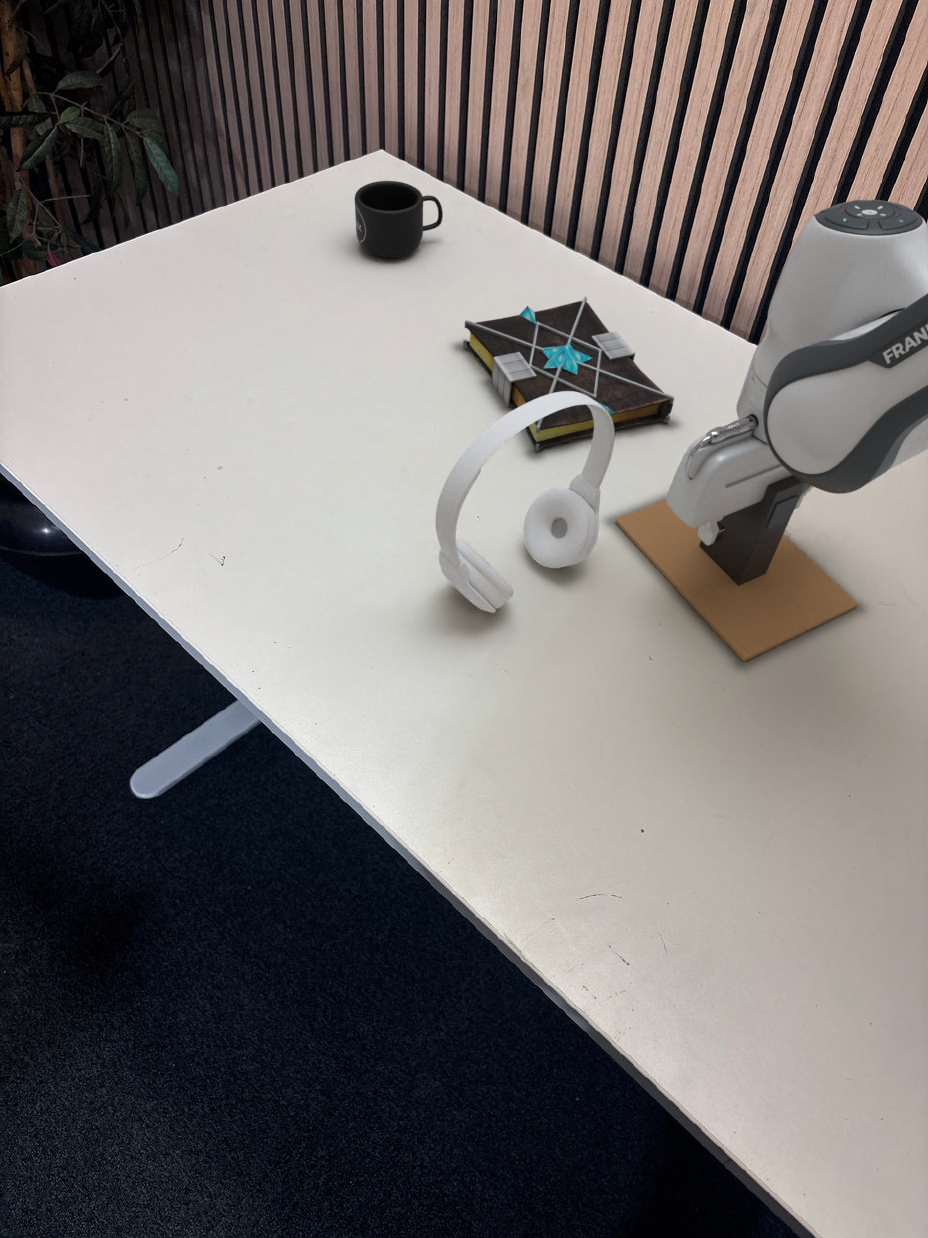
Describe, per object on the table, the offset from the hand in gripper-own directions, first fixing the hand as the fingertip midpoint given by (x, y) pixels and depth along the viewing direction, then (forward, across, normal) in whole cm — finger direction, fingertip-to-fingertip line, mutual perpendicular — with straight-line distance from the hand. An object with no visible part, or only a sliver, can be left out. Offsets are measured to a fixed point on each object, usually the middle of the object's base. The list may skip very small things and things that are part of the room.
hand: (747, 522), depth 85 cm
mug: (+6, -2, +68) cm, 68 cm away
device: (+5, 0, 0) cm, 5 cm away
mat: (+6, 0, 0) cm, 6 cm away
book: (+6, +1, +32) cm, 33 cm away
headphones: (+6, -20, +8) cm, 22 cm away
